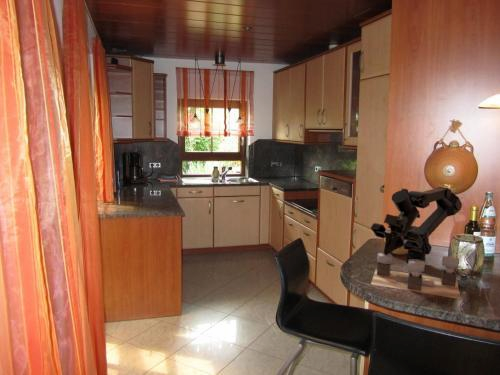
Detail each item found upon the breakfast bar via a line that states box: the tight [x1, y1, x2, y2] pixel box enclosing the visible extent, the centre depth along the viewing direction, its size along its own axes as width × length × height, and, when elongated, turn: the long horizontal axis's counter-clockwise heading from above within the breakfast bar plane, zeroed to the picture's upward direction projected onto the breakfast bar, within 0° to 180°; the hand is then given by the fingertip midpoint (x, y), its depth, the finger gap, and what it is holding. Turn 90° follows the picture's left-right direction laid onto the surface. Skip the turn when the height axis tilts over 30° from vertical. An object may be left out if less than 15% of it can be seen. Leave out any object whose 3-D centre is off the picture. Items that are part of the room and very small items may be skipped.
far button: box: [407, 259, 426, 278], centre depth 139 cm, size 5×5×5 cm
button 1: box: [376, 252, 393, 265], centre depth 151 cm, size 5×5×5 cm
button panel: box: [370, 261, 462, 300], centre depth 144 cm, size 16×27×6 cm, turn 68°
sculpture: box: [383, 238, 408, 255], centre depth 181 cm, size 12×12×11 cm
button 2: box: [441, 255, 459, 274], centre depth 143 cm, size 5×5×5 cm
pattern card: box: [396, 274, 434, 287], centre depth 145 cm, size 6×12×1 cm, turn 68°
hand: (385, 253), depth 150 cm, fingers closed, pressing on button 1
